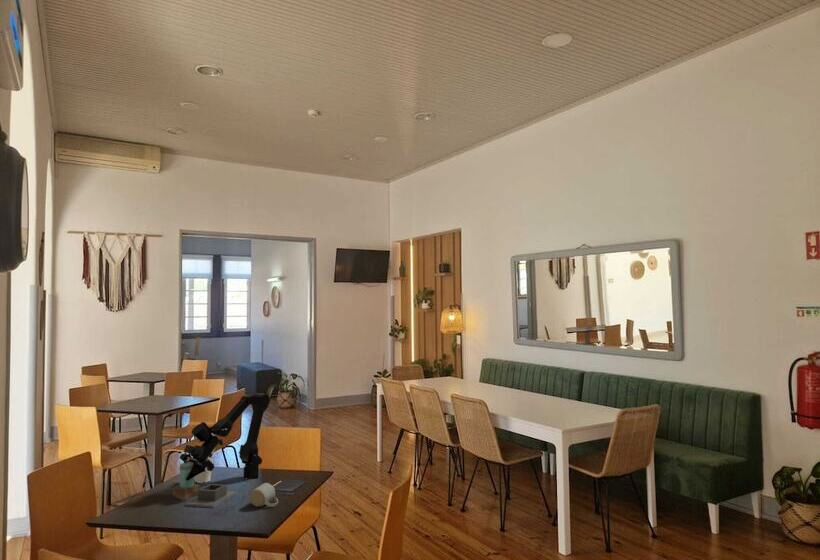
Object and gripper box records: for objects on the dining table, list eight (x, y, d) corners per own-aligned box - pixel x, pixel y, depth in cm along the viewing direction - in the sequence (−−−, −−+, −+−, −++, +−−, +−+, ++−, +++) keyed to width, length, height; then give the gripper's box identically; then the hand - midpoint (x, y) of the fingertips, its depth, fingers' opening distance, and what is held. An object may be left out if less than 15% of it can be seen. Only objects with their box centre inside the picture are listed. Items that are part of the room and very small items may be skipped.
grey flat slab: (291, 492, 235) (260, 490, 239) (291, 497, 235) (260, 494, 239) (312, 479, 254) (282, 477, 258) (312, 483, 254) (282, 481, 258)
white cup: (194, 479, 260) (194, 457, 260) (212, 477, 262) (212, 456, 263) (193, 484, 252) (193, 461, 253) (211, 482, 254) (211, 460, 255)
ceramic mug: (248, 507, 221) (248, 487, 221) (259, 500, 229) (260, 481, 229) (271, 510, 218) (271, 490, 218) (282, 503, 226) (282, 484, 226)
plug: (188, 492, 238) (189, 461, 239) (193, 493, 236) (194, 462, 237) (179, 494, 235) (179, 463, 236) (184, 496, 233) (184, 465, 234)
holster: (190, 491, 241) (190, 482, 241) (199, 494, 237) (199, 485, 237) (172, 496, 234) (173, 486, 235) (182, 499, 230) (182, 489, 230)
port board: (211, 492, 240) (211, 480, 240) (236, 493, 238) (236, 482, 238) (186, 505, 222) (186, 493, 223) (213, 507, 220) (213, 495, 220)
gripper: (183, 434, 246) (159, 465, 236) (208, 440, 235) (184, 472, 225) (199, 449, 252) (176, 479, 242) (224, 454, 241) (201, 487, 231)
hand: (183, 479), depth 235 cm, fingers closed on plug, 4 cm apart
